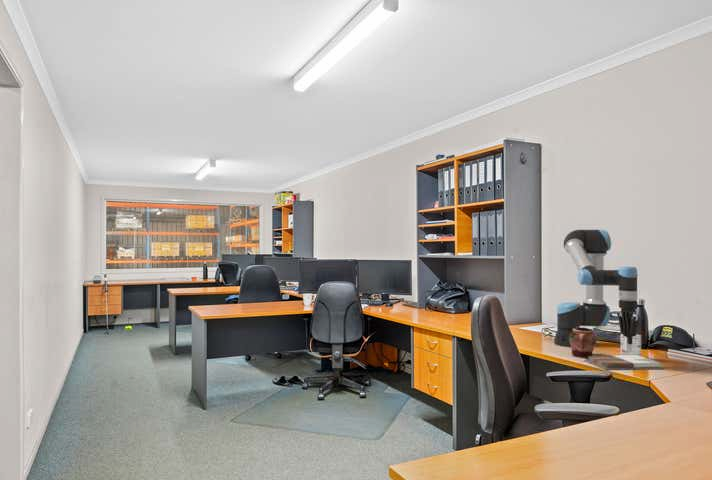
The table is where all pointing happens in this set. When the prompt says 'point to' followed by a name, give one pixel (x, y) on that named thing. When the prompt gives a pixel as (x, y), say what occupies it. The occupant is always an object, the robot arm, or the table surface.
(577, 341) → the decorative planter
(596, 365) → the underlay mat
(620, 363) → the walnut plank
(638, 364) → the white flat board
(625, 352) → the ink box
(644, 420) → the table surface
